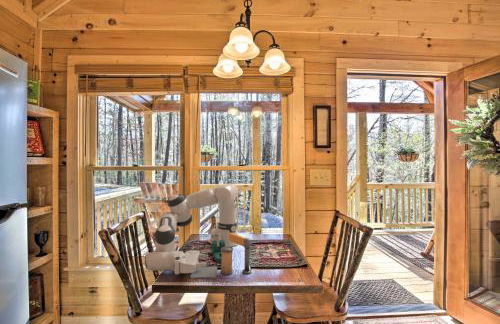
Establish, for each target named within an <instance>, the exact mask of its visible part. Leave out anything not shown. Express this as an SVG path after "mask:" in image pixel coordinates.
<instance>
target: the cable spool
mask: <svg viewBox="0 0 500 324" xmlns="http://www.w3.org/2000/svg"><path fill="white" fill-rule="evenodd" d="M221 251H222V257H221V258H222V261H221V262H220V263H221V265H220V266H221V270H220V275H222V276H231V275H233V273H234V271H233V251H234V248H233V246H232V247H222V248H221ZM230 274H231V275H230Z"/></svg>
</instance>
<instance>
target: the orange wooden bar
mask: <svg viewBox="0 0 500 324" xmlns="http://www.w3.org/2000/svg"><path fill="white" fill-rule="evenodd" d="M229 241H231V242H234V243H236V244H238V246H242V248H244V249H245V248H251V238H250V237H244V236H242V235H239V234H237V235H236V234H234V233H229Z"/></svg>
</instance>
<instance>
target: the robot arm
mask: <svg viewBox="0 0 500 324" xmlns="http://www.w3.org/2000/svg"><path fill="white" fill-rule="evenodd" d="M238 195H239V189H238V186H237V185H235V184H234V183H226V184H222V185H219V186H215V187H211V188H207V189H203V190H199V191H195V192H193V193H190V194H188V195H184V194H181V193H175V194H172V195H171V196H170V197H168V199H167V200H166V203H167V206H168V208H169V211H165V212H162V214H161V215H160V217H158V218H159V219H158V222H157V229H156V230H155V231H154V234H153V236H154V241H155V243H154V244H155V249H154V250H153V251H152V252H147V253H146V254H145V256H144V266H145V268H146V270H149V271H152V272H153V271H154V272H155V271H156V272H158V271H161V272H162V271H163V272H164V271H166V270H167V271H172V272H174V275H179V274H191V273H193V272H195V271H196V268H200V267H207V265H208V264H207V261H203V262H199V261H200V260H201V259H204V260H208V259H209V254H204V253H201V251H200V250H199V249H198V250H186V251H185V252H184V251H181V250H179V251H177V250H176V233H177V228H178V227H181V228H182V227H186V226H189V225H190V224H192V222H193V215H192V213H191V211H190V210H197V209H202V208H206V207H210V206H214V205H218V215H219V217H218V222H217V226H216V228H215V229H214V230H212V232H211V233H210V237H209V238H207V240H206V241H207V242H208V243H210V244H211V245H212V241H214V240H216V241H217V248H219V241H220V240H224V241H225V247H232V248H233V247H235V246H239V244H236V243H234V242H231V241H229V233H234V234H236V235H238V229H237V227H238V222H237V208H236V203H235V199H236V198H237V197H238Z"/></svg>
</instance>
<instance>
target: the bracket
mask: <svg viewBox="0 0 500 324" xmlns="http://www.w3.org/2000/svg"><path fill="white" fill-rule="evenodd" d="M222 247H225V241H224V240H220V241H219V247H217V241H216V240H214V241H212V244H211V253H213V254H212V256H213V258H214V260H216V261H217V262H216V261H215V262H216V263H221V261H222V251H221V248H222Z"/></svg>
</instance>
